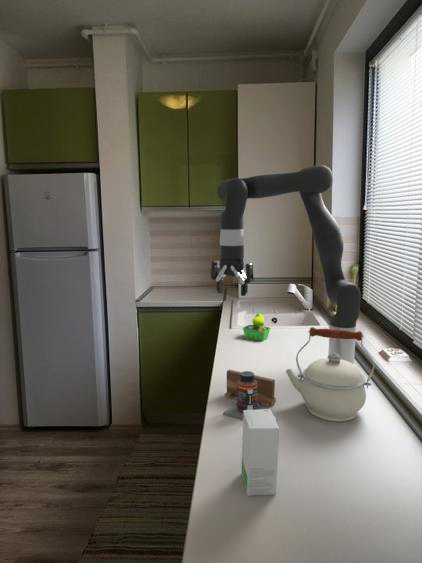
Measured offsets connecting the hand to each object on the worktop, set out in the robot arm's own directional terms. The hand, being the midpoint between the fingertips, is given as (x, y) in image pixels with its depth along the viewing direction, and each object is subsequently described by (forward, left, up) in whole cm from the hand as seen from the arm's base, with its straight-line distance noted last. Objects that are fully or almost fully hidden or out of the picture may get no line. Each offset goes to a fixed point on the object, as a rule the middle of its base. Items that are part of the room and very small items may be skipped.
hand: (231, 294), depth 136 cm
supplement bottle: (+12, +12, -32) cm, 36 cm away
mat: (+12, +12, -32) cm, 36 cm away
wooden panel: (+4, +9, -32) cm, 34 cm away
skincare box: (+40, +30, -32) cm, 60 cm away
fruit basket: (-55, -18, -32) cm, 66 cm away
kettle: (-2, +32, -32) cm, 45 cm away
